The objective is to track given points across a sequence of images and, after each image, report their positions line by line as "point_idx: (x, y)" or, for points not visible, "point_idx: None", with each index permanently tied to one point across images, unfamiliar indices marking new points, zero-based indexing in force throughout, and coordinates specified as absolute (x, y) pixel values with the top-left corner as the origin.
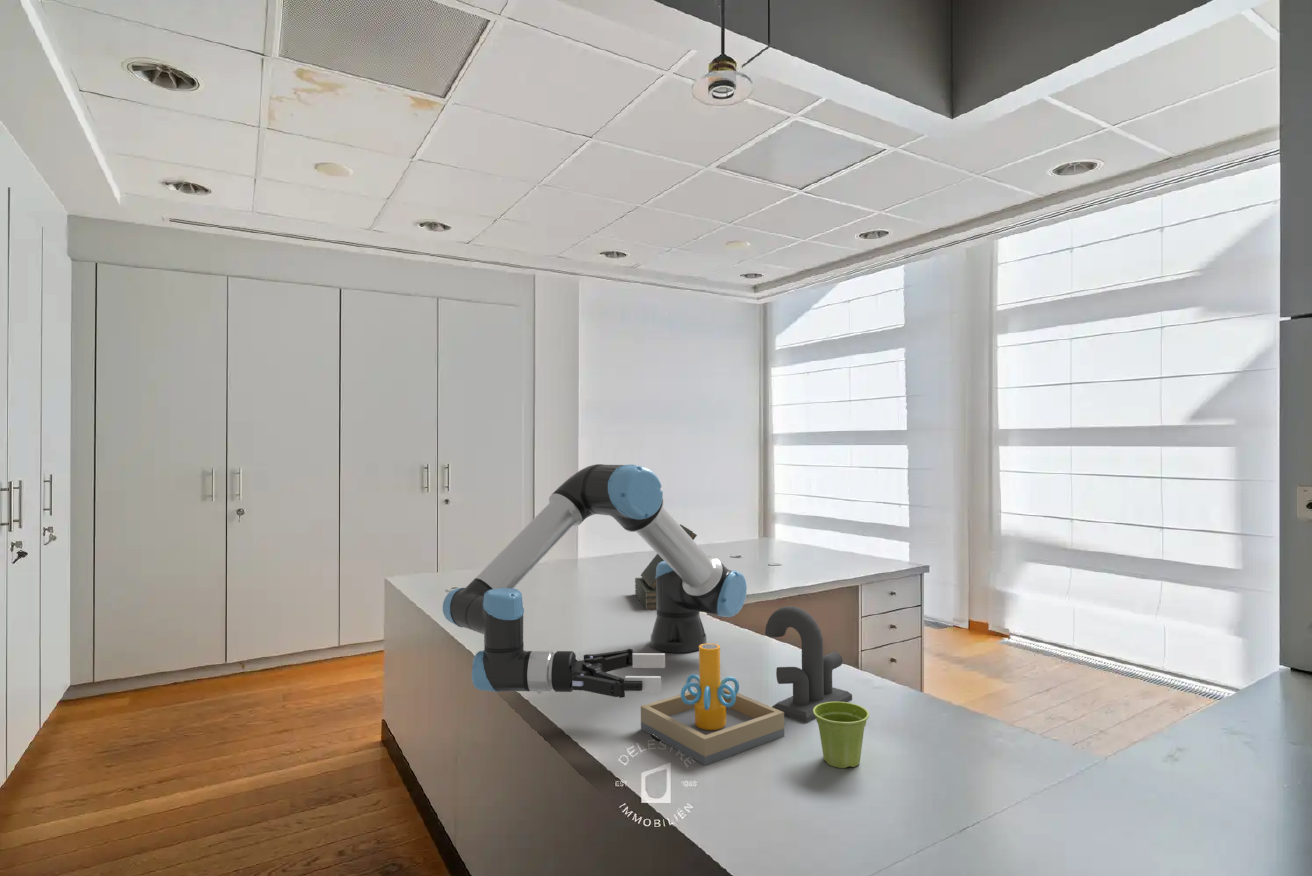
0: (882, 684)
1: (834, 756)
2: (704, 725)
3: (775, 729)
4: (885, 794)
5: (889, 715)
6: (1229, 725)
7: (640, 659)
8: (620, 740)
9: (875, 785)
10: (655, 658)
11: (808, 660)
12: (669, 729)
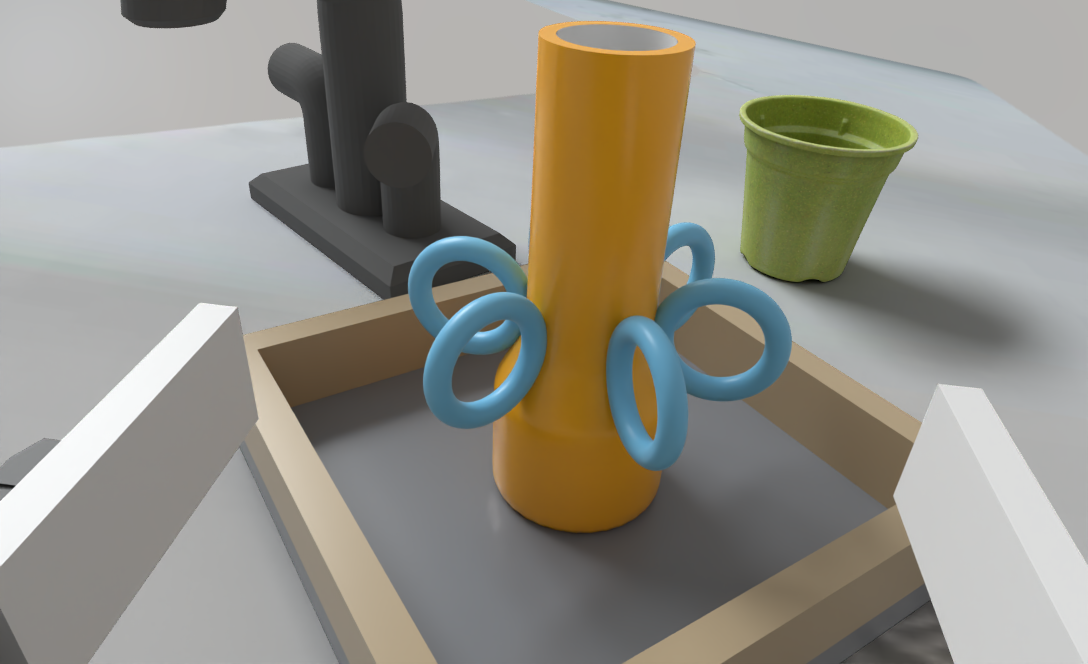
0: (286, 124)
1: (852, 247)
2: (656, 486)
3: None
4: (960, 246)
5: (495, 156)
6: (593, 13)
7: (91, 539)
8: None
9: (918, 248)
10: (194, 399)
11: (393, 67)
12: (774, 659)
